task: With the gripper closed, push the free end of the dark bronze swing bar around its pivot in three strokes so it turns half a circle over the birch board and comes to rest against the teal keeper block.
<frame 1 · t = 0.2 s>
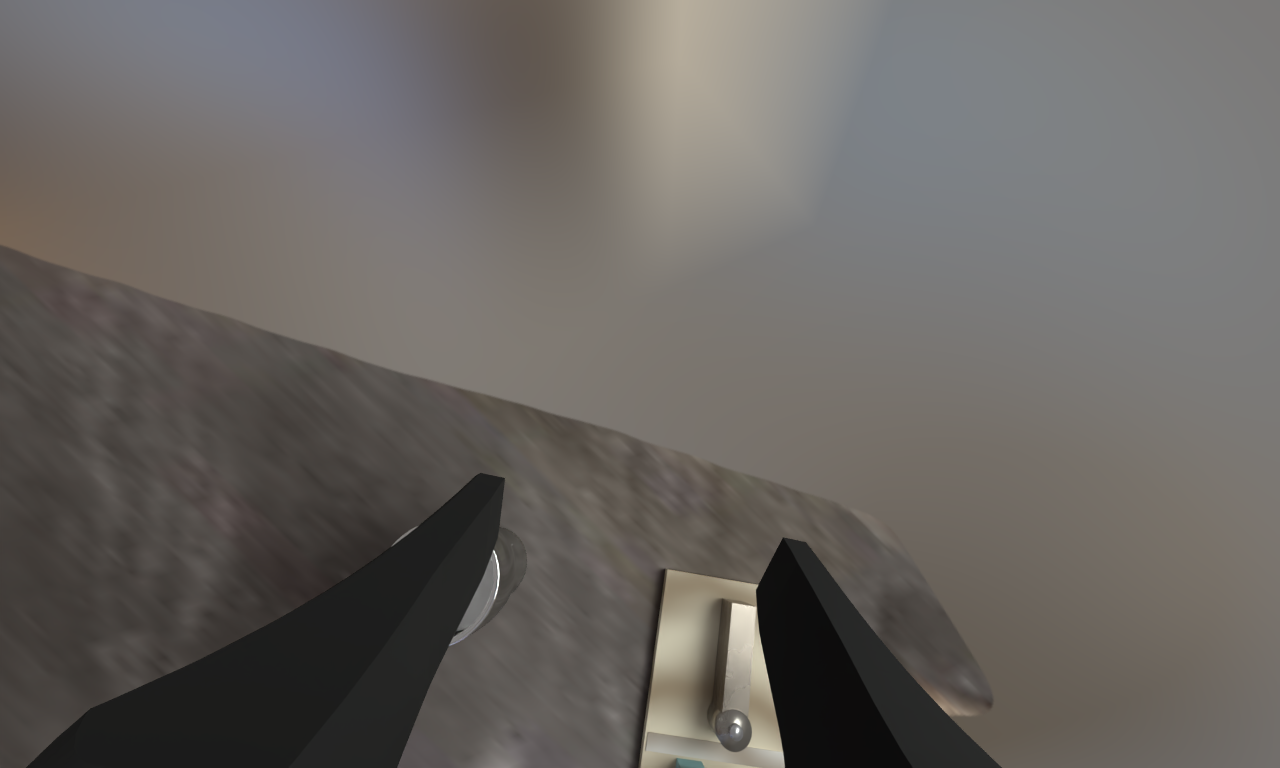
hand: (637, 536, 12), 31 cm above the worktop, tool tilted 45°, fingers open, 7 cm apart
beer glass: (491, 563, 39), on the worktop
swing bar: (734, 670, 36), point 3 cm above the worktop, hinge at 0.0°
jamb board: (736, 705, 38), on the worktop
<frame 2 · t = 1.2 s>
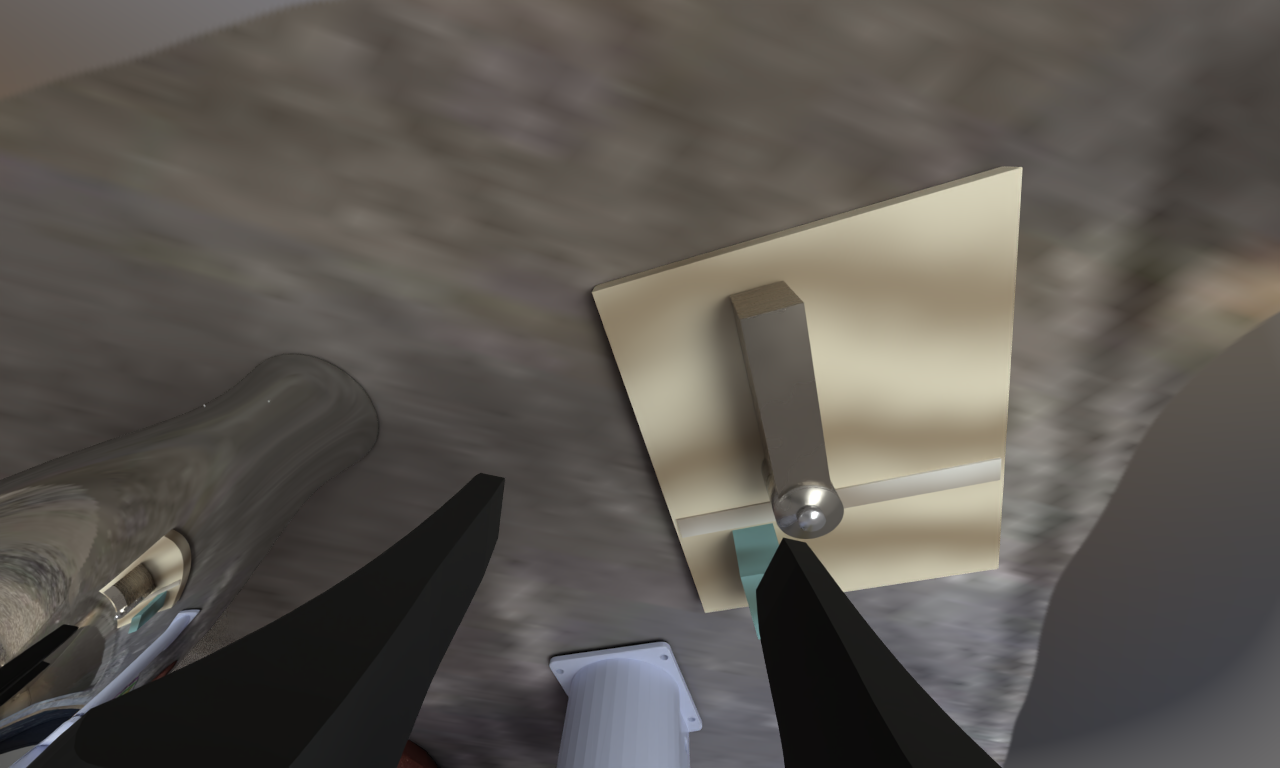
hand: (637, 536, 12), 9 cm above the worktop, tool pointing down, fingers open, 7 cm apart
beer glass: (319, 408, 22), on the worktop
pottery: (371, 757, 37), on the worktop
swing bar: (787, 421, 17), point 3 cm above the worktop, hinge at 0.0°
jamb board: (815, 436, 21), on the worktop
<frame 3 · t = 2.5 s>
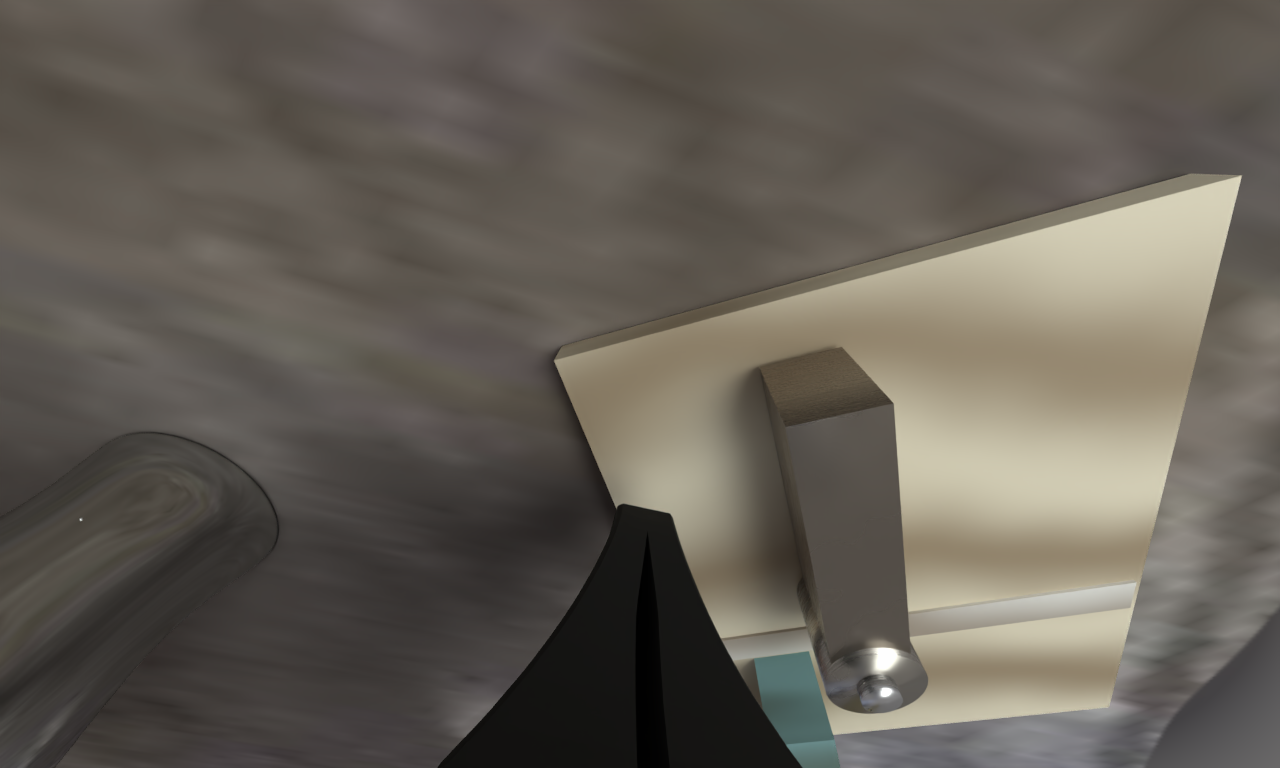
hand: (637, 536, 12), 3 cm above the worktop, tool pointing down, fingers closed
beer glass: (197, 499, 16), on the worktop
swing bar: (844, 551, 12), point 3 cm above the worktop, hinge at 0.0°
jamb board: (869, 541, 15), on the worktop
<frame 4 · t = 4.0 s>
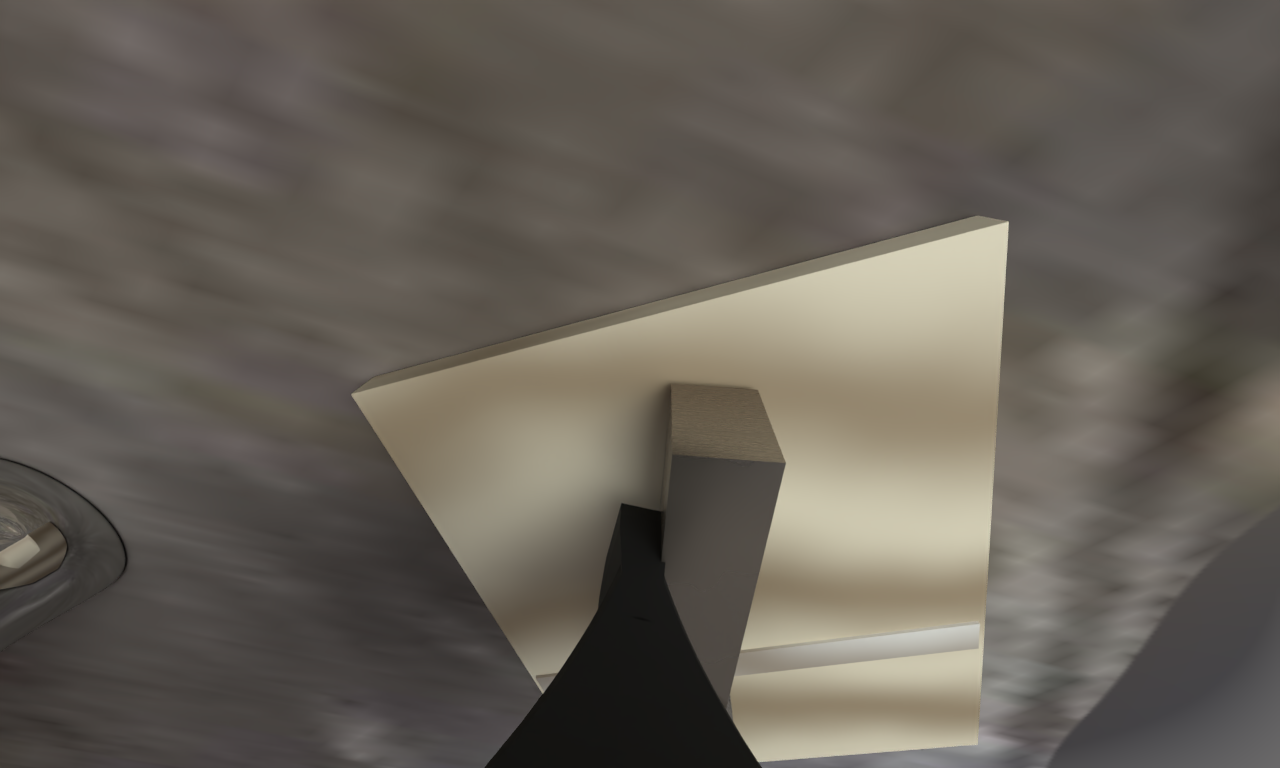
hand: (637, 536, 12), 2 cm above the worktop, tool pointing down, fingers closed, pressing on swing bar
beer glass: (42, 521, 16), on the worktop
swing bar: (695, 594, 11), point 3 cm above the worktop, hinge at 19.4°, touching gripper
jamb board: (720, 575, 15), on the worktop
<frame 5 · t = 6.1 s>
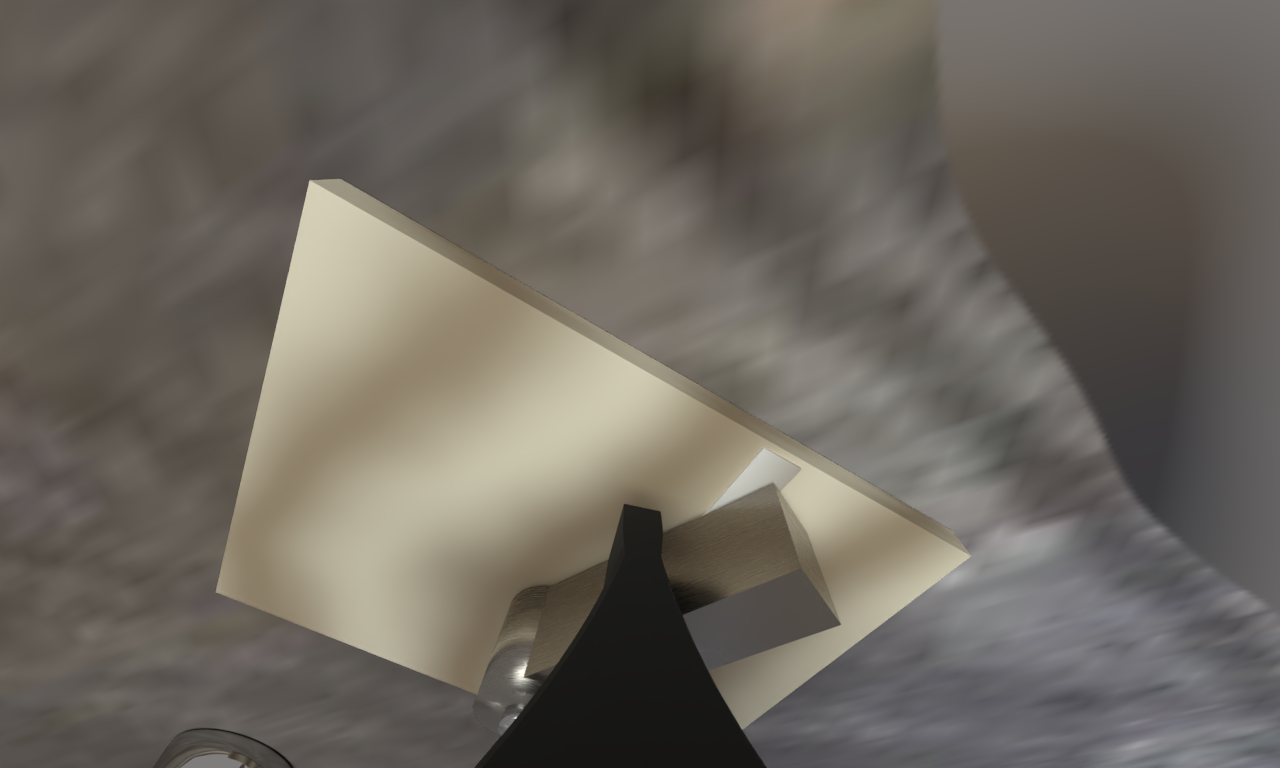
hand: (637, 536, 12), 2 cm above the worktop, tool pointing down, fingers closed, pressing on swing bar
beer glass: (238, 757, 23), on the worktop
swing bar: (637, 625, 12), point 3 cm above the worktop, hinge at 115.4°, touching gripper
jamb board: (563, 551, 15), on the worktop
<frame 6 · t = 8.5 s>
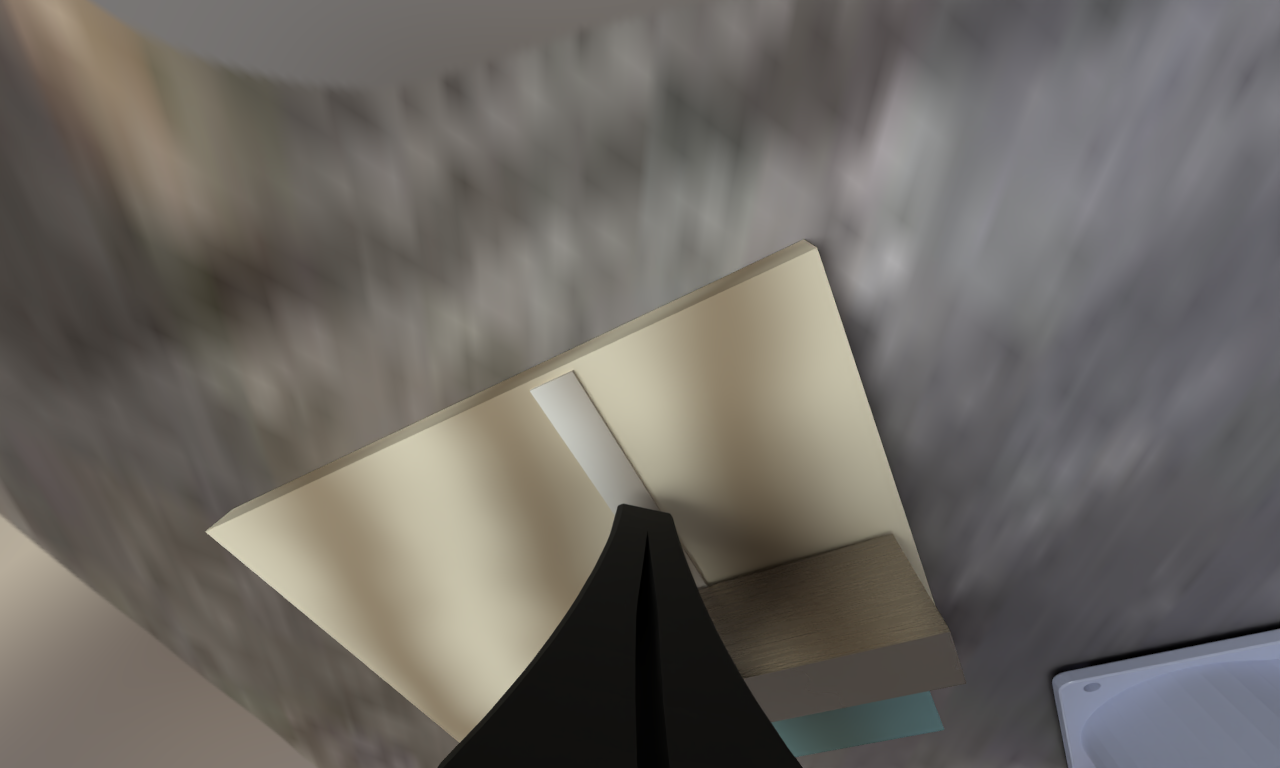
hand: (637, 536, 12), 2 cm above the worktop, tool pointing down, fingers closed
swing bar: (742, 659, 12), point 3 cm above the worktop, hinge at 180.5°
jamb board: (597, 575, 15), on the worktop
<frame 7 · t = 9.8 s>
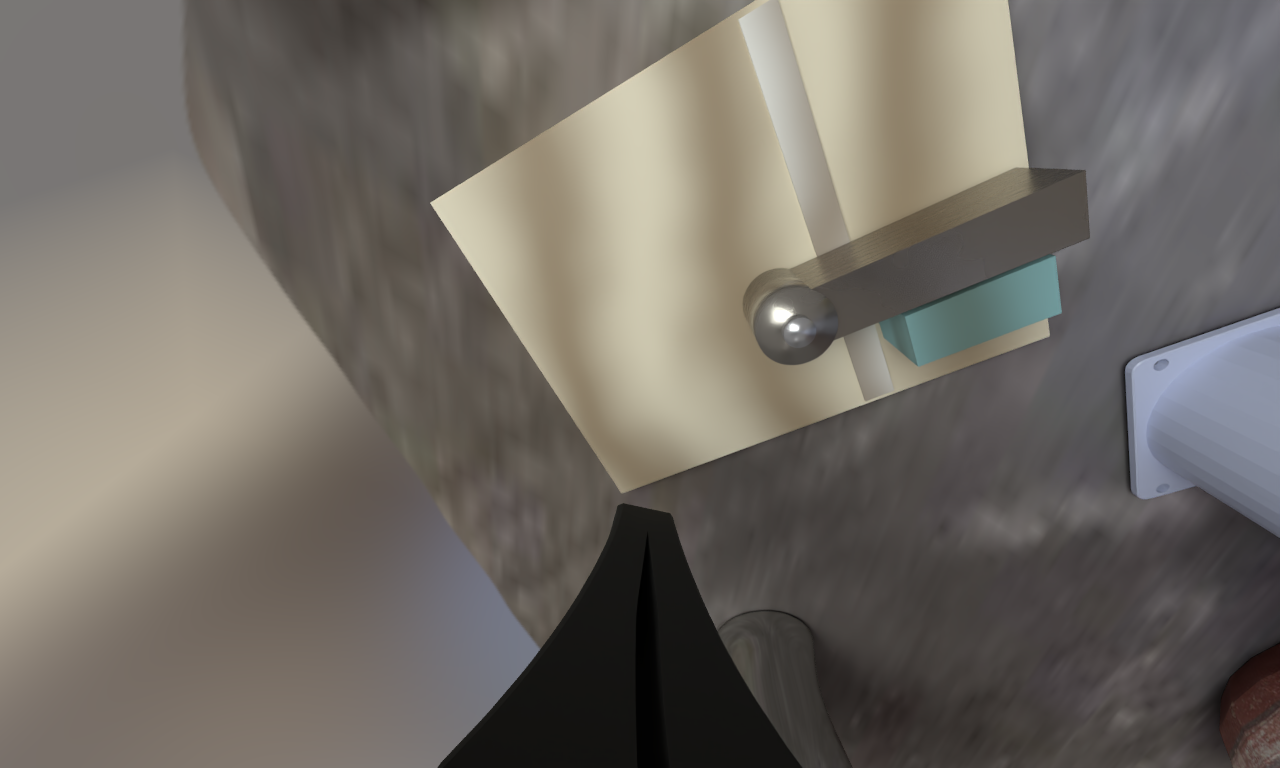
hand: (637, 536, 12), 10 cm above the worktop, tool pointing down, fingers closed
beer glass: (762, 638, 29), on the worktop
swing bar: (892, 271, 15), point 3 cm above the worktop, hinge at 180.5°
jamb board: (745, 265, 18), on the worktop
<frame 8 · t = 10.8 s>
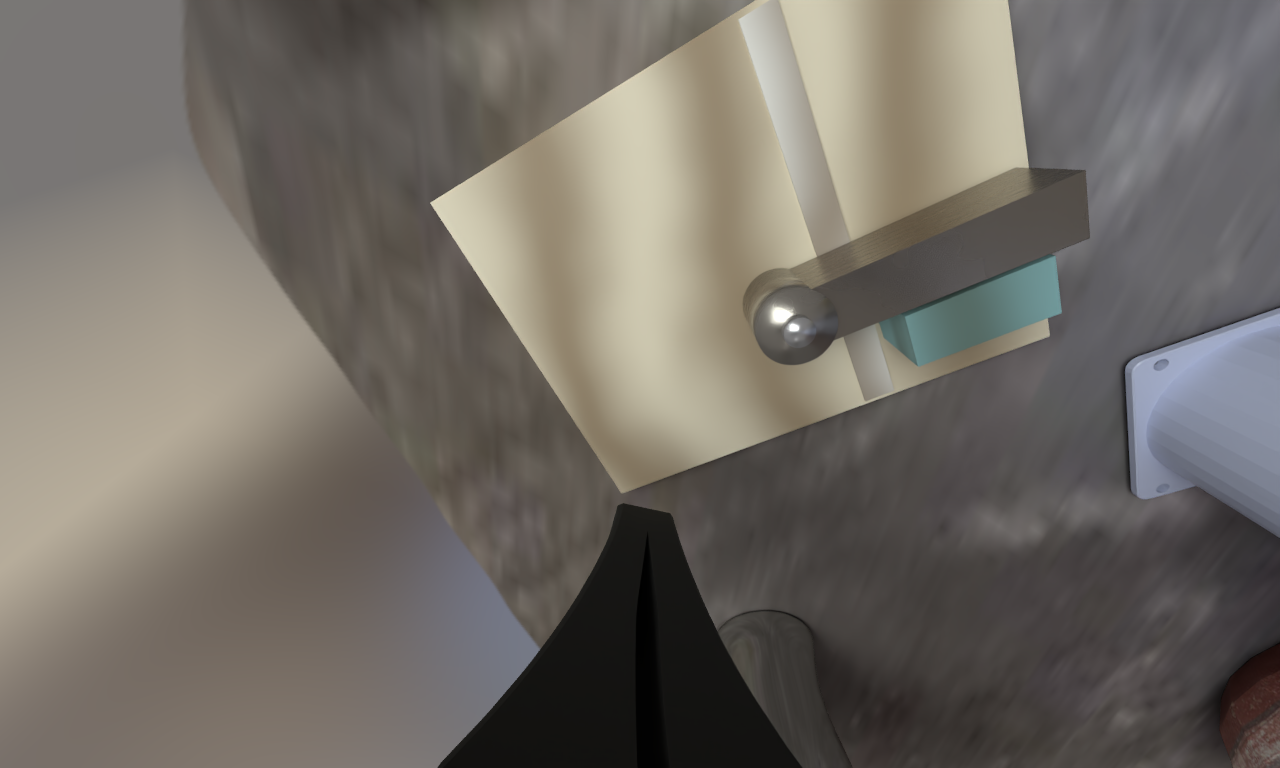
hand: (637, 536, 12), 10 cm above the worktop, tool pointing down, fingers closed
beer glass: (762, 638, 29), on the worktop
swing bar: (892, 271, 15), point 3 cm above the worktop, hinge at 180.5°
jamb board: (745, 265, 18), on the worktop
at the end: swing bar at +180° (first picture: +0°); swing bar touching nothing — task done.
